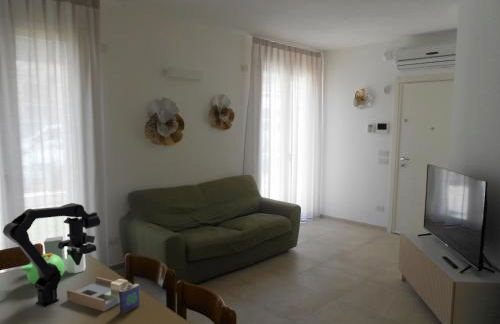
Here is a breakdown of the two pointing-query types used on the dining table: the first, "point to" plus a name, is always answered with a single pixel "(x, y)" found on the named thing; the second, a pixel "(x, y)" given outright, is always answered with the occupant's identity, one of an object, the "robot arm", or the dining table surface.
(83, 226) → the robot arm
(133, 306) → the blue green box
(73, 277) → the dining table surface
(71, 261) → the jar
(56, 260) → the toy bird
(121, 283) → the block
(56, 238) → the skincare box
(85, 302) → the box
